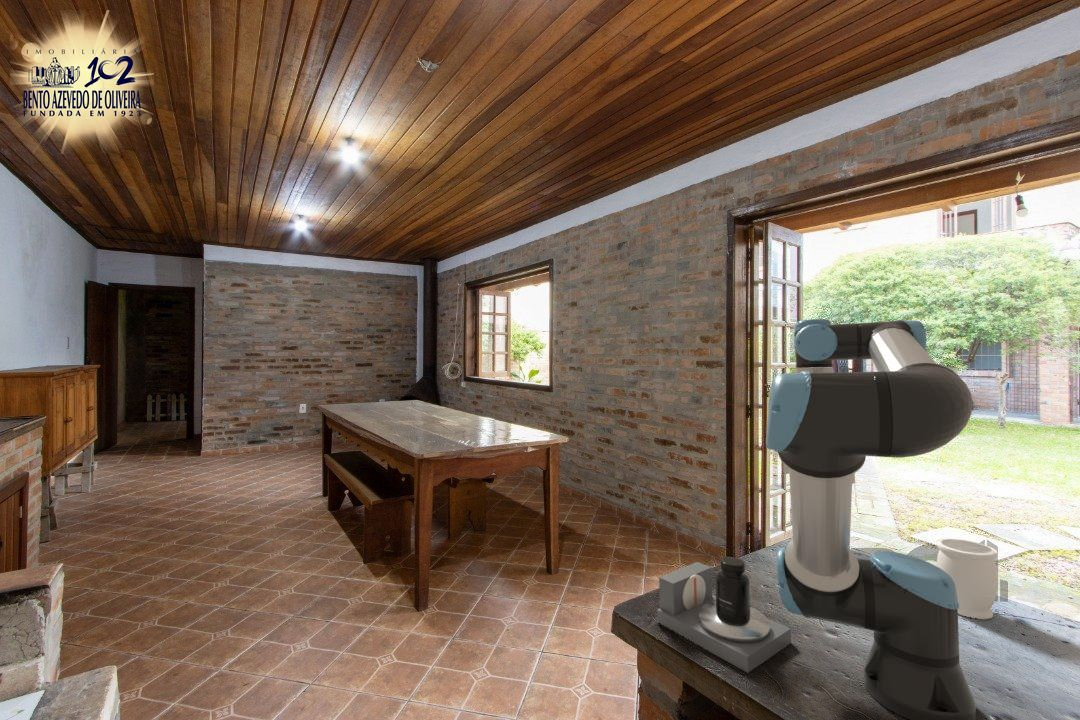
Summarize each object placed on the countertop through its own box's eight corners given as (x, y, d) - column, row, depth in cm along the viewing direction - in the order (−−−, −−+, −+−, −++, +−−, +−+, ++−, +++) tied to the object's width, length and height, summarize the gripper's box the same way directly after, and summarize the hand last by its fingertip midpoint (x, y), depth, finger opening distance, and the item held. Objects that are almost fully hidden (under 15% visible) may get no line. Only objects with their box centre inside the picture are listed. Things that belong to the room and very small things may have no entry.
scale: (791, 643, 98) (789, 594, 98) (747, 672, 89) (746, 619, 89) (700, 601, 116) (699, 560, 116) (657, 622, 107) (656, 578, 107)
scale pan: (783, 626, 98) (783, 620, 98) (745, 651, 90) (745, 644, 90) (723, 600, 110) (723, 595, 110) (685, 620, 102) (685, 614, 102)
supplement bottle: (717, 623, 98) (715, 565, 98) (715, 607, 104) (713, 553, 105) (753, 628, 96) (751, 569, 96) (748, 611, 102) (747, 556, 103)
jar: (974, 600, 114) (972, 538, 114) (1013, 623, 103) (1010, 555, 104) (927, 599, 115) (925, 537, 115) (960, 622, 105) (958, 554, 105)
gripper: (884, 386, 101) (887, 485, 101) (770, 384, 121) (773, 467, 121) (869, 388, 97) (873, 491, 96) (754, 385, 117) (757, 471, 117)
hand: (817, 478), depth 109 cm, fingers open, 13 cm apart
